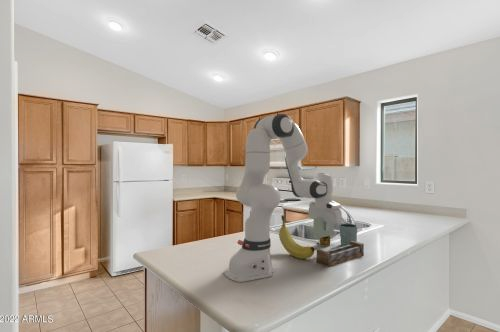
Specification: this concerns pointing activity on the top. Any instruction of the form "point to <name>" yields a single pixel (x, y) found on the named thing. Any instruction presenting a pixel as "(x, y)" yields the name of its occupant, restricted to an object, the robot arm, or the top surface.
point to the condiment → (325, 241)
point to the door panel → (322, 228)
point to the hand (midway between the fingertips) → (323, 229)
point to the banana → (293, 244)
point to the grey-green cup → (348, 233)
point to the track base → (340, 254)
